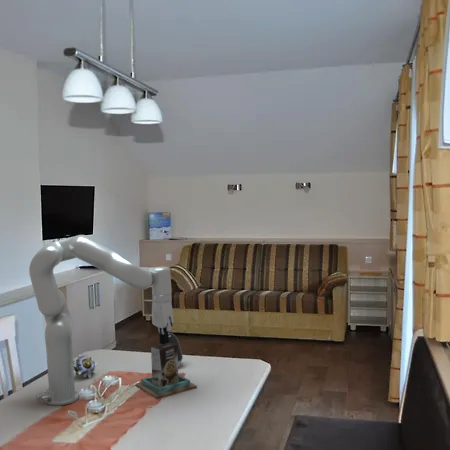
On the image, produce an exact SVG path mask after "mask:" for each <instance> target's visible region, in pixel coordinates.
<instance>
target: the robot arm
mask: <svg viewBox="0 0 450 450" xmlns="http://www.w3.org/2000/svg"><path fill="white" fill-rule="evenodd" d="M73 259H78V260H81V261H82V262H84V263H87V264H88V265H91V266H93V267H95V268H97V269H98V270H101V271H103V272H105V274H106V273H107V274H108V275H110V276H112V277H113V278H116V279H118V280H119V281H121V282H123V283H125V284H127V285H129V286H130V287H134V288H135V289H137V290H141V291H142V290H143V291H144V290H146V289H148V288H150V287H151V293H152V295H151V297H152V302H151V323H152V325H153V326H155V327H156V328H157V329H158V330H157V331H158V333H159V335H158V336H159V345H160V344H166V343H169V336H168V334H169V333H170V332H171V331H172V327H173V326H174V311H173V305H172V304H173V303H172V299H173V298H172V297H173V296H172V281H171V280H172V278H171V269H170V267H168V266H155V267H148V266H147V267H146V266H145V267H144V266H140V267H139V266H137V265H135V264H133V263H131V262H129V261H128V260H126V259H125V258H123V257H122V256H121V255H120V254H118V253H117V252H116V251H114V250H112V249H110V248H109V247H106V246H105V245H102V244H100V243H98V242H96V241H94V240H92V239H91V238H90V237H89V236H88V235H85V234H78V235H75V236H74V235H73V236H71V237H68V238H67V237H66V238H64V239H59V240H56V241H52V242H49V243H47V244H45V245H43V246H42V247H41V248H40V249H39V250H38V251H37V252H36V254H35V255H34V256H33V257H32V259H31V261H30V264H29V269H28V270H29V271H28V273H29V277H30V282H31V285H32V289H33V293H34V296H35V299H36V303H37V308H38V310H39V311H40V313H41V314H42V315H43V317H44V320H45V322H46V326H45V328H44V329H45V330H44V341H45V349H46V364H47V378H48V379H47V381H48V383H47V384H48V388H46V391H44V392H42V393H37V394H35V399H36V400H38V401H39V400H42V401H44V402H45V403H46V404H47V405H50V406H65V405H68V404H72V403H75V402H76V401H78V399H79V398H80V393H79V392H78V391H76V388H75V387H76V385H75V370H74V367H73V365H74V364H73V361H74V356H73V355H74V354H73V352H74V351H73V340H72V339H73V338H72V337H73V335H72V330H73V320H72V317H71V314H70V310H69V307H68V304H67V301H66V297H65V294H64V293H63V292H62V290H60V289H59V288H58V285H57V280H56V278H55V275H54V269H55V268H56V267H57V266H58V265H59V264H60V263H62V262H66V261H69V260H73Z"/></svg>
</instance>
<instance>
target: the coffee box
mask: <svg viewBox="0 0 450 450" xmlns="http://www.w3.org/2000/svg"><path fill="white" fill-rule="evenodd" d="M150 348H151V349H150V350H151V351H150V352H151V353H150V354H151V357H150V358H151V376H152V383H153V384H154V385H156V386H158V387H159V388H160V387H164V386H167V385H171V384H175V383H178V382H179V377H178V374H179V366H178V351H177V344H173V343H166V344H160V343H159V344H158V345H154V346H152V347H150Z"/></svg>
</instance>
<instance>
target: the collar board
mask: <svg viewBox="0 0 450 450" xmlns="http://www.w3.org/2000/svg"><path fill="white" fill-rule="evenodd" d="M178 377H179V382H178V383H175V384H171V385H167V386H164V387H160V388H159V387H158V386H156V385H154V384H153V383H152V375H151V376H148V377H144V378H141V380H140V382H137V383H135V387H136V388H138V389H139V388H140V389H139V390H141V391H142V390H143V391H142V392H144V393H146V394H147V395H148V396H151V397H152V398H154V399H155V400H160V399H163V398H167V397H171V396H173V395H177V394H181V393H184V392H188V391H191V390H195V389H197V388H198V385H196V384H195V383H193V382H191V380H190V379H188V378H187V377H185V376H182V375H180V374H179V373H178Z"/></svg>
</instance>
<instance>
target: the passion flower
mask: <svg viewBox="0 0 450 450" xmlns="http://www.w3.org/2000/svg"><path fill="white" fill-rule="evenodd" d="M97 365H98V363H97V362H96V361H94V358H92V357H91V356H90V357H89V356H88V354H85V355H83V354H82V355H81V353H77V359H75V360H73V367H74V373H75V374H76V376H80V375H81V376H82V378H84V379H85V378H88V379H89V378H90V379H91V378H92V373H93V374H96V373H97V371H96V370H95V369H96V367H97Z"/></svg>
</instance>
